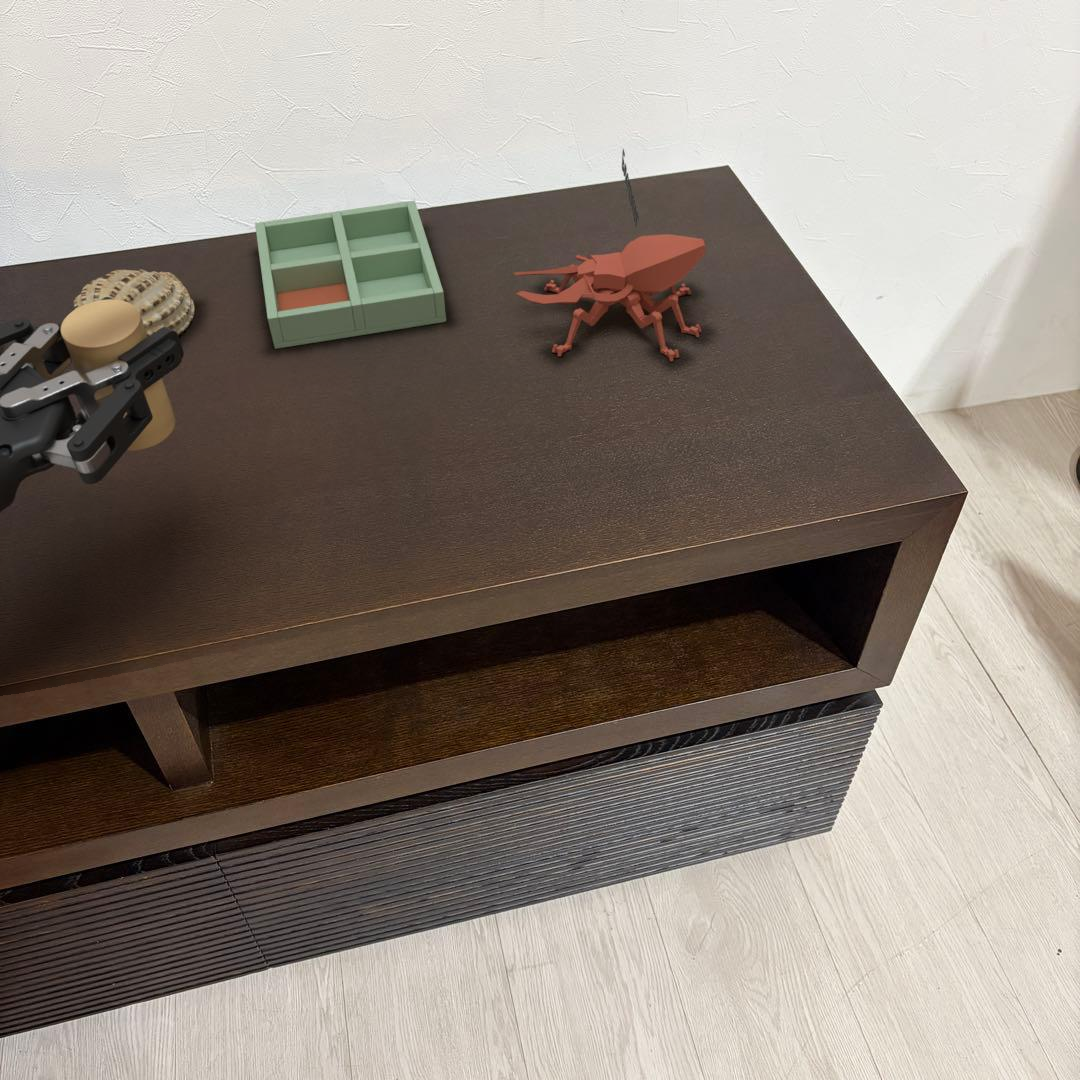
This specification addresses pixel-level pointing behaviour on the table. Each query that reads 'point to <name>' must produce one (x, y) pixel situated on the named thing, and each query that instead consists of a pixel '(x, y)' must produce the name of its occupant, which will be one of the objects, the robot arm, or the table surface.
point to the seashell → (145, 297)
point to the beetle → (627, 281)
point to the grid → (348, 274)
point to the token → (115, 356)
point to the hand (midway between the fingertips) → (146, 326)
